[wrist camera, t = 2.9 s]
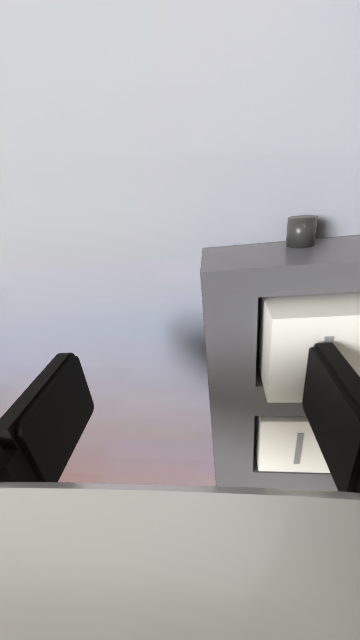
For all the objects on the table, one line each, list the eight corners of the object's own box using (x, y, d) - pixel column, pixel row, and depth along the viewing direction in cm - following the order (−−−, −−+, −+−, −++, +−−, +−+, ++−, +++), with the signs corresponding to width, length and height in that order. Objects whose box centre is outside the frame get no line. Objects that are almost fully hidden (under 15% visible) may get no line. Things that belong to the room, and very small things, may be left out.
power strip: (201, 223, 13) (197, 240, 10) (401, 204, 12) (479, 215, 9) (218, 482, 23) (219, 537, 19) (329, 486, 22) (353, 545, 18)
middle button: (253, 387, 16) (260, 422, 13) (325, 386, 15) (346, 422, 13) (252, 434, 18) (258, 472, 15) (316, 434, 17) (333, 474, 15)
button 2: (260, 292, 12) (272, 320, 9) (359, 286, 11) (397, 314, 9) (258, 366, 14) (267, 403, 11) (342, 364, 13) (370, 403, 11)
